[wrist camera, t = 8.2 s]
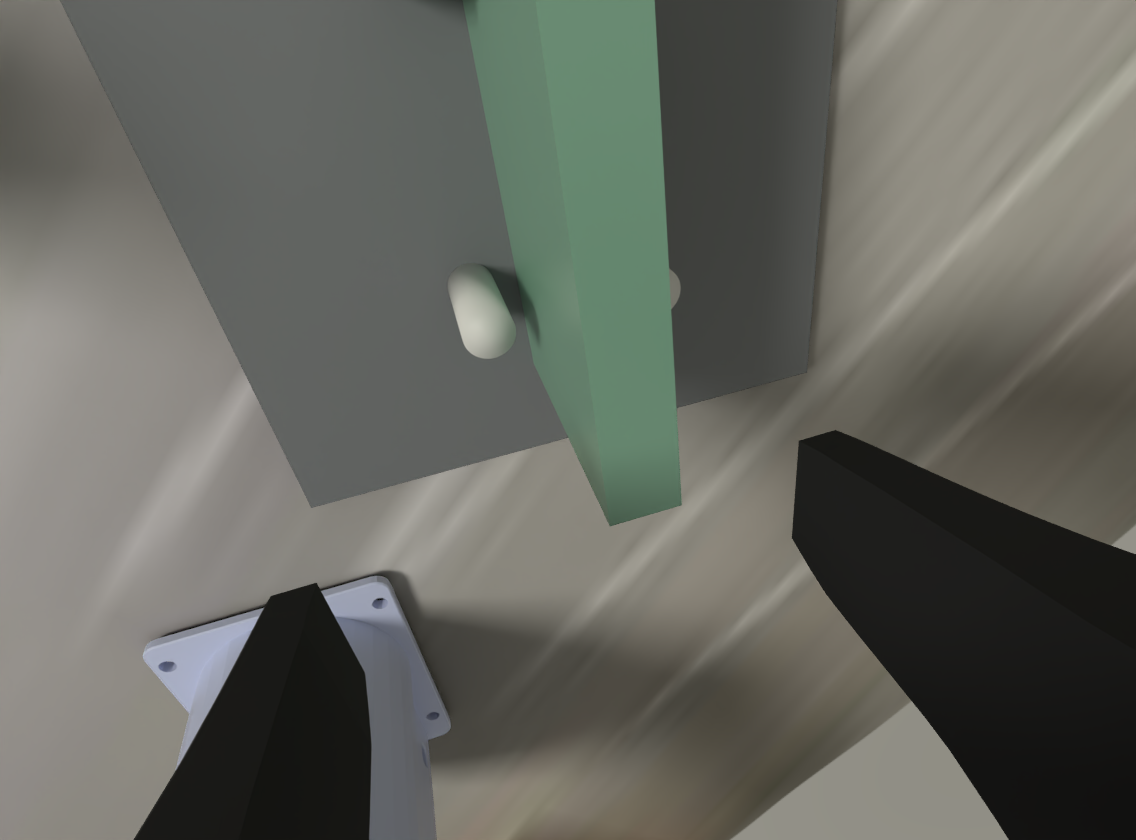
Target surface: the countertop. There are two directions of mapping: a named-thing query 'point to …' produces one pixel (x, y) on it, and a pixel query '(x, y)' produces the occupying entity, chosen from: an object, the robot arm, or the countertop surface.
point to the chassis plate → (449, 211)
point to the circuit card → (588, 228)
